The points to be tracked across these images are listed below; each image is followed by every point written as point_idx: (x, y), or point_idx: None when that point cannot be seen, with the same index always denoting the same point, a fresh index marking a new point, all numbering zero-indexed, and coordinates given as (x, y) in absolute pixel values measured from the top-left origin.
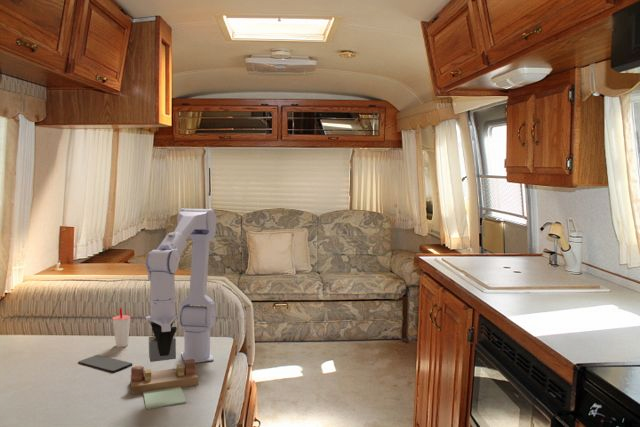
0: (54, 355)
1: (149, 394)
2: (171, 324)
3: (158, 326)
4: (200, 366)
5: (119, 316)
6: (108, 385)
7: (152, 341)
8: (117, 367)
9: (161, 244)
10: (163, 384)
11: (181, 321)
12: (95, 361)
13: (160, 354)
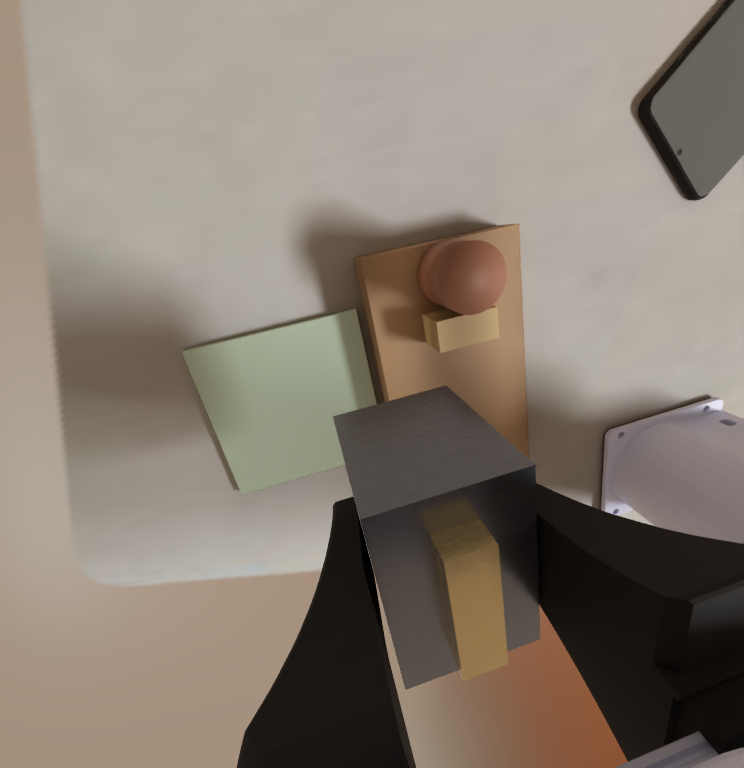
0: None
1: (325, 342)
2: (619, 735)
3: (622, 633)
4: (567, 481)
5: None
6: (490, 107)
7: (369, 538)
8: (682, 124)
9: None
10: (386, 396)
11: None
12: None
13: (334, 513)
